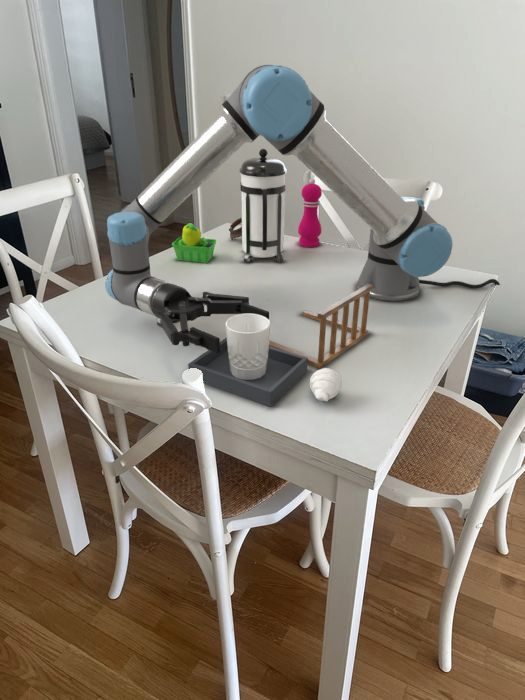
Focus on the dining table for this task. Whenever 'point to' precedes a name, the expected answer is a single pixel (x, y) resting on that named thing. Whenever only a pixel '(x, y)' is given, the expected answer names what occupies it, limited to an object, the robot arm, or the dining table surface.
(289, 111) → the robot arm
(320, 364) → the drying rack
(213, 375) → the dark grey tray
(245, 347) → the white cup
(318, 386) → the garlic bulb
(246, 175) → the coffee press
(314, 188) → the pepper mill
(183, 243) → the fruit basket
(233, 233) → the pottery mug
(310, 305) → the dining table surface
